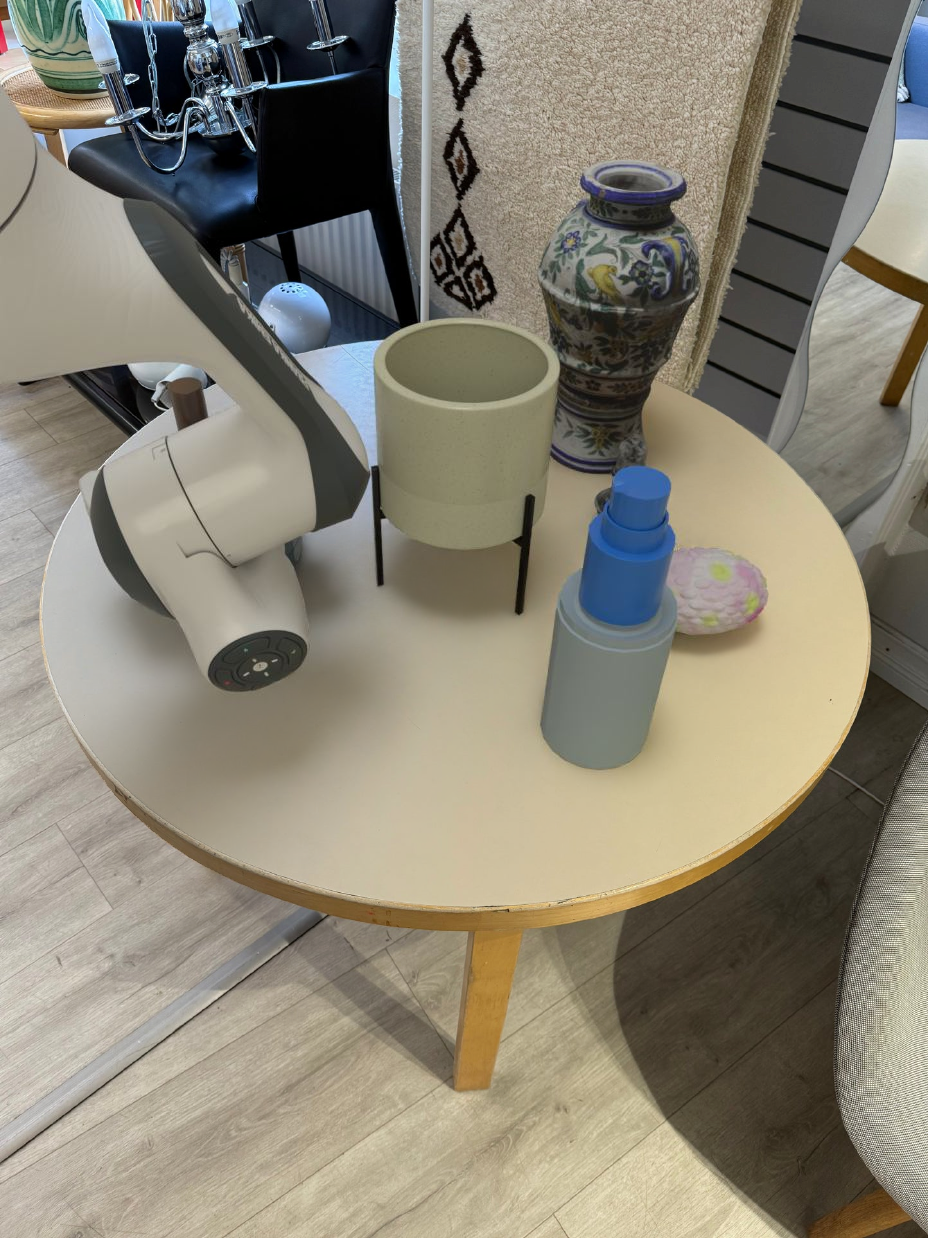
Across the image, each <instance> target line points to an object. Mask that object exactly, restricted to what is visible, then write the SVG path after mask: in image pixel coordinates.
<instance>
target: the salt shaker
mask: <svg viewBox="0 0 928 1238" xmlns="http://www.w3.org/2000/svg"><path fill="white" fill-rule="evenodd" d="M632 437H633V438H628V439H625V440H624V441H623V442H621V444H620V446H619V451H618V457H617V463H616V465H615V466H613V467H612V469H611V473H610V475H611V476H612V482H611V487H607V488H604V489H602V490H601V491H599V492H598V493H597V494H596V495H595V497H594V502H593V503H594V507H595V510H596V513H597V515H599V514H600V513H602V512H603V510H604V505H605V504H606V503H607V501H608V500H609V499H610V497H611V491H612V485H613V479H614V476H615V475H616V473H617V472H618V471H619V470H621V469H623V468H626V467H630V466H645V467H646V462H647V457H648V453H649V448H648V444H647V443H646V441H645V440H644V441H643V440H641V439H638V438H639V435H638V434H637V433H635V434H634V435H632Z"/></svg>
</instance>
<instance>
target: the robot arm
mask: <svg viewBox="0 0 928 1238" xmlns="http://www.w3.org/2000/svg"><path fill="white" fill-rule="evenodd" d="M143 363H173V364H182V365H186V366H191V367H194V368H196V369H199V370H201V371H202V372H203V373H205V374H206V375H208V376H209V377H210V379H212V380H213V381H214V383H215V384H216V385H218V386H219V387H220V388H221V389H222V391H223V392H224V393H226V395H227V396H228V397H229V398H230V399H231V400H232V401H234V404H233V405H231V406H230V407H227V408H225V409H223V410H221V411H219V412H217V413H214V414H213V415H211V416H208V418H206V419H204V420H202V421H199V422H197V423H195V424H193V425H191V426H189V427H187V428H184V429H182V430H180V431H178V430H177V431H175V432H174V433H171V434H170V435H165V436H162V437H161V438H158V439H156V440H154V441H152V442H149V443H148V444H145V445H143V446H141V447H139V448H136V449H135V450H133V451H131V452H128V453H126V454H124V455H122V456H120V457H118V458H116V459H114V460H112V461H111V462H109V463H107V464H104V465H102V466H101V468H100V469H94V470H90V471H87V472H86V473H85V474H84V475H82V477H81V478H80V479H79V480H78V486H79V491H80V494H81V496H82V500H83V503H84V506H85V507H84V508H85V510H86V513H87V515H88V518H89V521H90V524H91V528H92V532H93V536H94V539H95V543H96V546H97V548H98V551H99V554H100V557H101V558H102V559H101V560H102V561H103V563H104V565H105V566H106V569H107V570H108V571H109V573H110V574H111V576H112V578H113V579H114V580H115V581H116V583H117V584H118V586H119V587H120V588H121V589H122V590H123V591H124V592H125V593H126V594H127V595H128V596H129V597H130V598H131V599H133V600H134V601H135V602H137V603H138V604H140V605H141V606H144V607H145V608H147V609H149V610H150V611H153V612H155V613H156V614H159V615H161V616H163V617H165V618H169V619H172V620H176V621H177V623H178V624H179V626H180V628H181V631H182V632H183V634H184V636H185V638H186V641H187V643H188V645H189V647H190V650H191V652H192V655H193V657H194V659H195V662H196V664H197V666H198V668H199V670H200V672H201V674H202V675H203V677H204V678H205V679H206V681H207V682H208V683H209V684H210V685H211V686H213V687H214V688H216V689H218V690H221V691H225V692H230V693H246V692H253V691H257V690H261V689H264V688H266V687H269V686H271V685H273V684H276V683H277V682H279V681H281V680H283V679H285V678H287V677H289V676H290V675H292V674H293V673H294V672H296V671H297V670H298V669H299V668H300V667H301V666H302V665H303V663H304V662H305V661H306V659H307V656H308V654H309V652H310V646H311V635H310V626H309V618H308V613H307V608H306V603H305V598H304V595H303V591H302V588H301V584H300V581H299V579H298V575H297V572H296V570H295V567H293V565H292V563H291V562H290V560H289V559H288V557H287V556H286V555H285V545H284V544H285V543H287V542H289V541H291V540H293V539H296V538H298V537H300V536H304V535H306V534H308V533H315V532H318V531H321V530H324V529H326V528H328V527H331V526H334V525H337V524H340V523H343V522H345V521H347V520H350V519H352V518H353V516H354V515H355V513H356V511H357V510H358V507H359V506H360V503H361V502H362V499H363V498H364V496H365V493H366V491H367V487H368V485H369V482H370V480H371V469H370V464H369V463H370V462H369V457H368V453H367V449H366V446H365V443H364V441H363V439H362V436H361V434H360V432H359V430H358V428H357V426H356V425H355V422H354V421H353V420H352V418H351V417H350V415H349V414H348V412H347V411H346V409H344V407H343V406H342V405H341V404H340V403H339V401H337V400H336V399H335V398H334V397H333V396H332V395H331V394H330V393H328V392H327V391H326V390H325V388H324V387H323V386H322V385H321V384H320V382H318V381H317V379H315V378H314V377H313V375H311V374H310V373H309V372H308V371H307V370H306V369H305V368H304V367H303V366H302V364H301V363H300V362H299V361H298V360H297V359H296V357H294V355H293V354H292V353H291V351H290V350H289V349H288V347H286V345H285V344H284V342H283V341H282V340H281V339H280V338H279V336H278V335H277V334H276V333H275V331H274V330H273V329H272V328H271V326H269V324H268V323H267V322H266V321H265V319H264V318H263V317H262V316H261V314H260V313H259V312H258V311H257V309H256V308H255V306H253V304H252V303H251V302H250V301H249V299H248V298H247V297H246V296H245V295H244V293H243V292H242V291H241V290H240V289H239V287H238V286H237V285H236V284H235V283H234V281H233V280H232V278H230V276H228V275H227V273H226V272H225V270H224V269H223V268H222V267H221V266H220V265H219V264H218V263H217V261H216V260H215V259H214V258H213V257H212V255H210V254H209V252H208V251H207V250H206V249H205V248H204V246H202V244H201V243H200V242H199V241H198V240H197V238H195V236H194V235H192V233H191V232H189V230H187V228H186V227H185V226H184V225H183V224H182V223H181V222H180V221H179V220H177V219H176V218H175V217H174V216H172V215H171V214H170V213H169V212H168V211H167V210H166V209H164V208H163V207H161V206H160V205H158V203H156V202H154V201H151V200H143V199H135V198H129V197H124V198H122V197H119V196H117V195H114V194H112V193H110V192H108V191H106V190H104V189H102V188H100V187H98V186H96V185H94V184H93V183H91V182H89V181H87V180H86V179H84V178H82V177H80V176H79V175H78V174H76V173H75V172H73V171H72V170H70V169H69V168H68V167H66V165H64V164H63V163H62V162H61V161H59V160H58V159H57V158H56V157H55V156H54V155H53V154H52V153H51V152H50V151H49V150H48V149H47V148H46V147H45V145H43V143H41V141H40V140H39V139H38V137H37V136H36V134H35V133H34V131H33V130H32V129H31V127H30V125H29V124H28V122H27V120H26V119H25V118H24V116H23V115H22V113H21V112H20V110H19V109H18V107H17V106H16V105H15V103H14V102H13V100H12V99H11V97H10V95H9V94H8V93H7V91H6V89H5V88H4V87H3V85H2V84H1V83H0V384H12V383H15V384H16V383H26V382H34V381H40V380H45V379H50V378H54V377H59V376H63V375H68V374H73V373H78V372H82V371H88V370H95V369H99V368H100V369H101V368H106V367H107V368H108V367H114V366H123V365H128V364H129V365H130V364H143Z"/></svg>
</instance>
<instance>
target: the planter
mask: <svg viewBox="0 0 928 1238" xmlns="http://www.w3.org/2000/svg"><path fill="white" fill-rule="evenodd" d="M372 361H373V363H372V365H373V387H374V408H375V409H374V412H375V415H374V416H375V436H376V438H375V439H376V458H377V461H376V462H377V464H376V465H370V473H371V476H370V481H371V495H372V497H371V500H372V517H373V518H372V519H373V520H372V521H373V537H374V540H373V542H374V558H375V559H374V560H375V561H374V562H375V577H376V578H375V579H376V580H375V581H376V585H377V586H378V587H379V586H380V587H381V586H383V585H385V581H384V578H385V577H384V557H383V556H384V555H383V533H382V532H383V531H382V530H383V529H382V520H387V521H388V522H389V523H390V524H391V525H392V526H393V527H394V528H395V529H397V530H398V531H399V532H401V533H402V534H404V535H405V536H407V537H409V538H411V539H413V540H415V541H417V542H419V543H423V544H426V545H429V546H432V547H433V546H434V547H438V548H443V549H450V550H480V549H486V548H493V547H496V546H500V545H504V544H506V543H509V542H512V543H514V544H515V545H517V546H518V547H520V549H519V550H520V551H519V552H520V553H519V563H518V573H517V582H516V583H517V584H516V592H515V603H514V614H516V615H518V616H521V615H522V614H523V613H524V610H525V600H526V589H527V581H528V570H529V562H530V552H531V543H532V534H533V533H532V532H533V527H534V526H535V525H536V524H537V522H539V520H540V518H541V516H542V514H543V512H544V508H545V503H546V494H547V486H548V478H549V470H550V460H551V456H550V453H551V444H552V435H553V427H554V418H555V409H556V402H557V392H558V383H559V375H560V362H559V359H558V356H557V354H556V353H555V351H554V350H553V349H552V347H551V346H550V345H549V342H546V340H544V339H542V337H540V336H538V335H536V334H535V333H533V332H531V331H529V330H527V329H524V328H522V327H519V326H517V325H513V324H511V323H507V322H502V321H498V320H493V319H488V318H487V319H486V318H476V317H446V318H437V319H431V320H425V321H421V322H418V323H414V324H411V325H408V326H406V327H403V328H401V329H399V330H397V331H395V332H393V333H391V334H390V335H389V336H387V337H386V338H385V339H384V340H383V341H382V342H380V344H379V345H378V347H377V348H376V350H375V352H374V355H373V360H372Z"/></svg>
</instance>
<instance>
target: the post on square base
mask: <svg viewBox="0 0 928 1238" xmlns="http://www.w3.org/2000/svg"><path fill="white" fill-rule="evenodd" d="M167 387H168V388H167V389H168V392H169V398H170V401H171V405H172V410H173V414H174V415H173V416H174V418H175V424H176V428H177V432H178V431H180V430H182V429H184V428H187V427H189V426H191V425H193V424H195V423H197V422H199V421H202V420H204V419H206V418H208V417H209V412H208V407H207V402H206V397H205V392H204V391H205V390H204V386H203V383H202V381H201V380H200V379H199V378H196V377H191V376H186V377H184V376H183V377H179V378H175V379H174V380H172V381H170V383H169V384H168V386H167Z"/></svg>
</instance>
